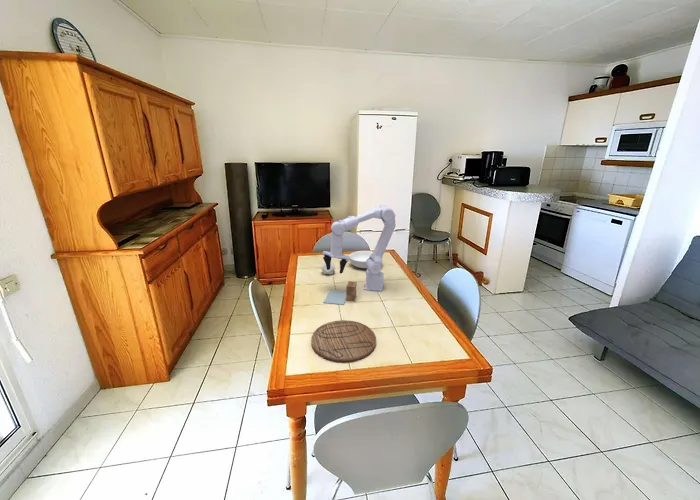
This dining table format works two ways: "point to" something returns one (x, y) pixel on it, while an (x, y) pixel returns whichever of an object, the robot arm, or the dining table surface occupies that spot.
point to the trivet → (343, 341)
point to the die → (331, 270)
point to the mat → (336, 297)
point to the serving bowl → (360, 258)
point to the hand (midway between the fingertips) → (334, 271)
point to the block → (351, 291)
